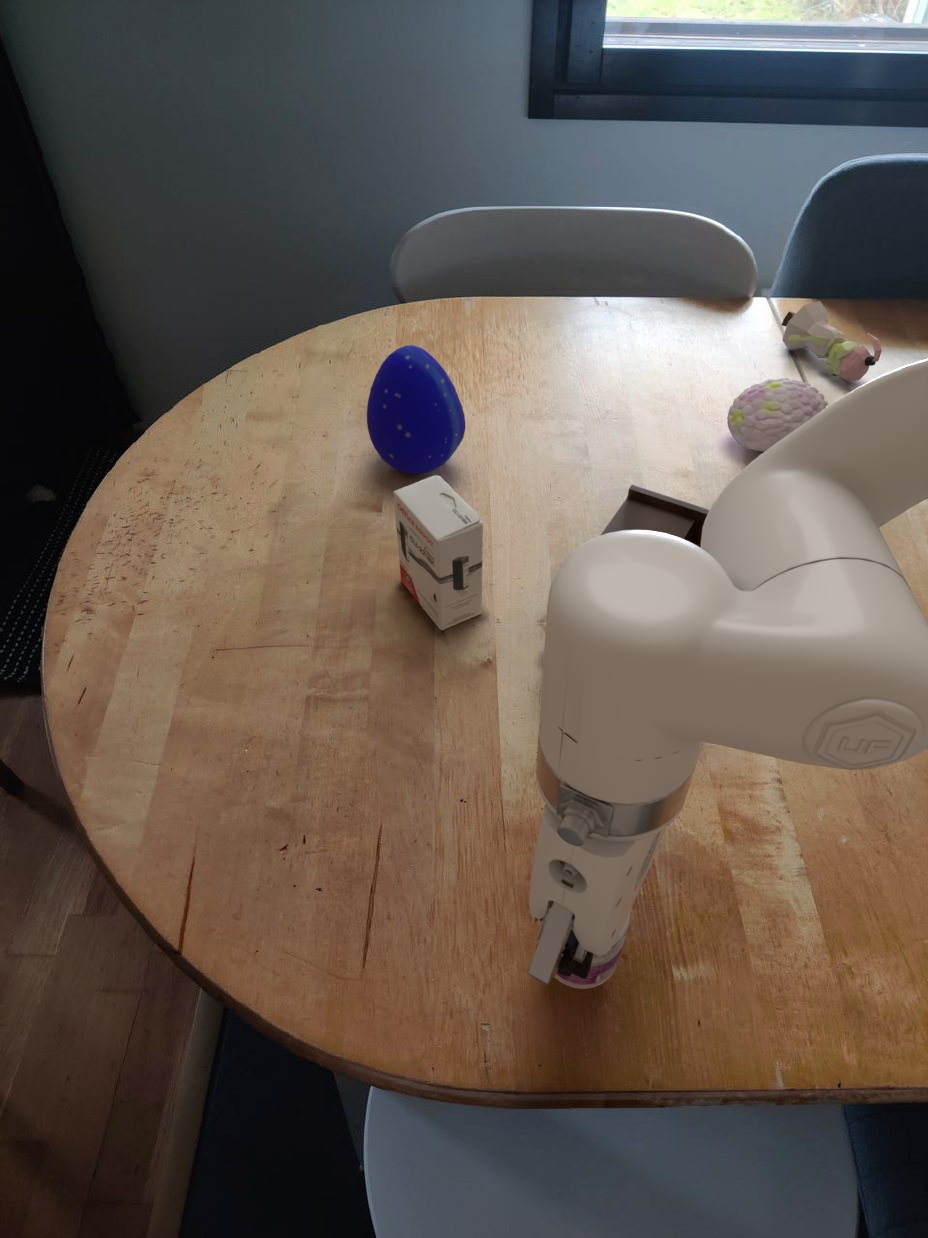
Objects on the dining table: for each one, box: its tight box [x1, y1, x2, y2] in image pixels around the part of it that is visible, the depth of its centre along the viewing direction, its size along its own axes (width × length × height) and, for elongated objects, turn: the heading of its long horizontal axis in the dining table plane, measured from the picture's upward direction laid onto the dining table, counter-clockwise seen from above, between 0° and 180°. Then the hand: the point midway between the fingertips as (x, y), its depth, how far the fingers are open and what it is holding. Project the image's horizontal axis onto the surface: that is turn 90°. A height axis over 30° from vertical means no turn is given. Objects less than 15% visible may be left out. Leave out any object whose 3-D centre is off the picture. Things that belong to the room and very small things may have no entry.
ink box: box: [393, 475, 484, 631], centre depth 81 cm, size 8×5×12 cm, turn 31°
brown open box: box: [599, 484, 710, 548], centre depth 79 cm, size 14×18×9 cm
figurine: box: [781, 300, 883, 383], centre depth 115 cm, size 9×7×15 cm
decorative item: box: [726, 377, 829, 452], centre depth 102 cm, size 9×11×10 cm
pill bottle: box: [542, 911, 631, 990], centre depth 55 cm, size 5×5×10 cm
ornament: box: [366, 344, 466, 475], centre depth 96 cm, size 11×9×15 cm
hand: (584, 920), depth 55 cm, fingers closed on pill bottle, 5 cm apart
